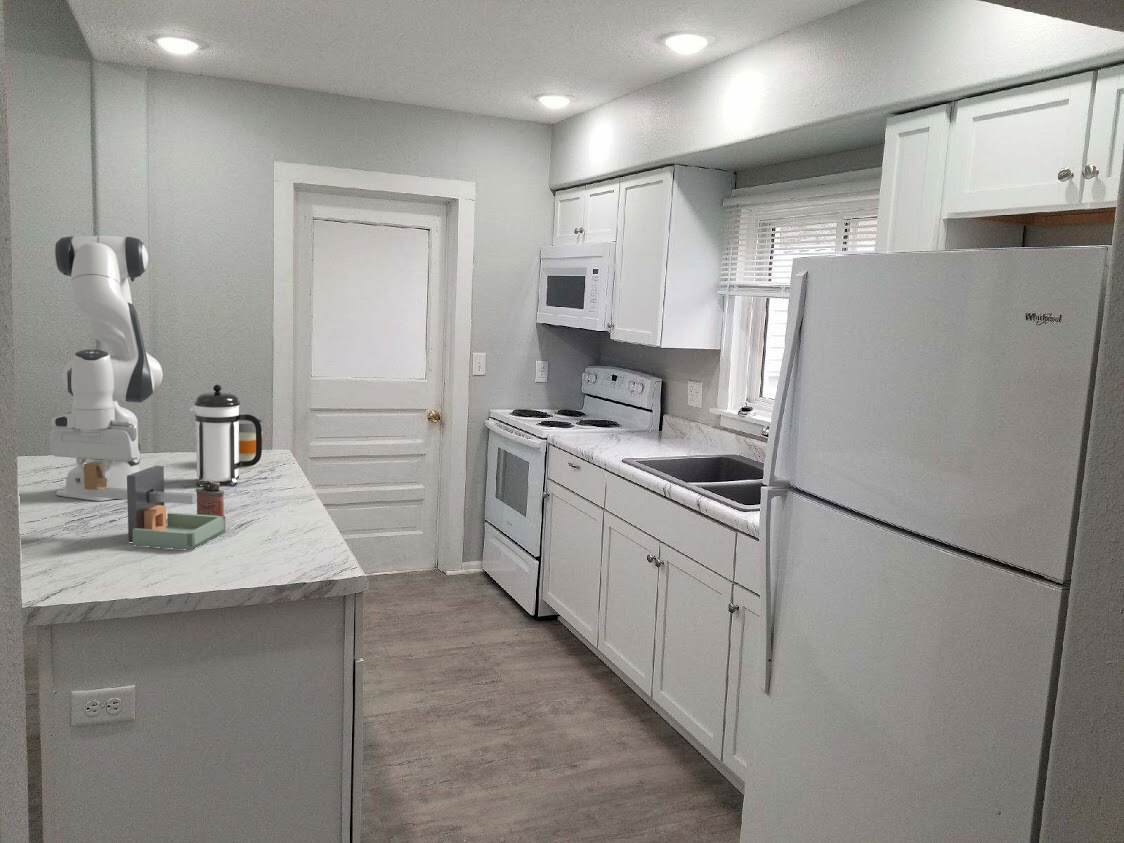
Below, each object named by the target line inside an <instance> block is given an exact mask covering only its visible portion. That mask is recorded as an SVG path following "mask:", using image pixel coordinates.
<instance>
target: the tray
mask: <svg viewBox="0 0 1124 843" xmlns="http://www.w3.org/2000/svg"><path fill="white" fill-rule="evenodd" d="M166 515H167V524H166V530H154V529H141V528H135V529H133V543H132V546H133V545H136V546H149V547H160V548H173V549H186V550H193V549H195V548H196V547H198V546H200V545H202V544H204V543H206V542H207V541H209V540H211V541H213V540H214V539H216V538H218V537H220V536H221V535H223V534H225V533H226V516H225V515H224V516H213V515H200V514H197V513H186V512H185V513H182V512H170V511H169V512H168V513H167V512H166ZM219 535H220V536H219ZM217 536H218V537H217ZM212 539H213V540H212ZM209 542H210V541H209ZM207 543H208V542H207ZM207 543H206V544H207ZM204 545H205V544H204ZM202 546H203V545H202ZM200 547H201V546H200ZM160 548H159V549H160ZM198 548H199V547H198ZM173 549H172V550H173ZM186 550H185V551H186ZM195 550H196V549H195ZM193 551H194V550H193Z"/></svg>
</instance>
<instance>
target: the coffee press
mask: <svg viewBox="0 0 1124 843" xmlns="http://www.w3.org/2000/svg"><path fill="white" fill-rule="evenodd" d="M212 389H213V390H214V391H213V392H204V393H202V394H199V395H198V396H197V398H196V400H195V401H194V404H193V405H192V406H191V407H190V409H189V412H195V414H194V421H195V426H196V427H195V431H196V432H195V434H196V436H195V438H196V441H195V442H196V476H197V478H198V480H197V482H196V486H197V487H200V485H199V480H207V481H211V480H214V481H215V482H217V483H220V482H228V483H229V485H230V486H231V485H233V486H232V487H236V486H238V479H240V475H239V474H240V468H239V467H247V466H253V465H255V464H256V463H258V462H259V463H260V460H261V459H262V458H261V457H262V454H263V452H262V451H263V443H262V437H263V433H262V428H261V424H260V422H259V420H258V419H259V418H257V417H256V416H255V415H252V414H248V413H247V414H240V405H241V401H240V400H239V398H238V397H237V396H236V395H235V394H233V393H230V392H222V391H221V390H222V389H223V387H222V386H221V385H220V384H215V385H213V388H212ZM239 420H249V421H251V422H253V423H254V425H255V428H256V455H255V457H254V458H253V459H252V460H250V461H240V460H239ZM235 485H236V486H235ZM202 487H203V485H202Z"/></svg>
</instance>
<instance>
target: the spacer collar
mask: <svg viewBox="0 0 1124 843" xmlns="http://www.w3.org/2000/svg"><path fill="white" fill-rule="evenodd" d="M166 526H167V506H166V505H164V506H162V505H157V506H155V507H153V508H150V509H148V510H146V511H144V529H154V530H166Z"/></svg>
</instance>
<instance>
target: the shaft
mask: <svg viewBox="0 0 1124 843" xmlns="http://www.w3.org/2000/svg"><path fill="white" fill-rule="evenodd" d="M105 465H106V464H103V462H100V461H93V462H90V463H87V464H84V483H85V489H87V492H88V497H101V498H114V499H113V500H115V499H116V500H118V499H119V500H127V489H120V488H107V478H100V477H99V475H100V474H99V471H101V470H103V469H104V467H105ZM147 501H155V502H164V503H168V504H169V503H170V504H171V503H172V504H185V505H194V504H197V493H188V492H187V493H185V492H173V491H164V492H162V491H147Z"/></svg>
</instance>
